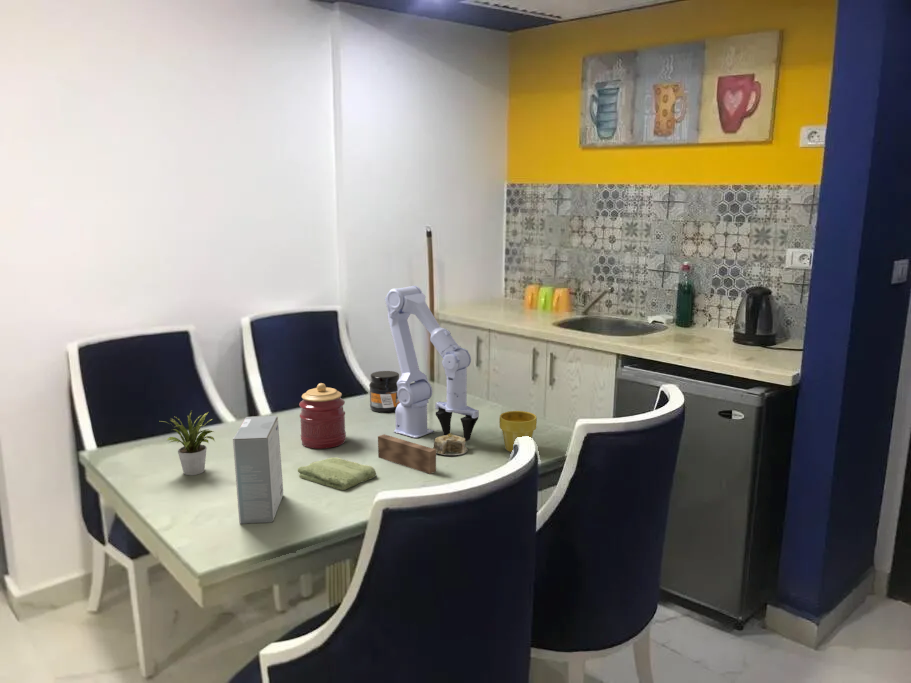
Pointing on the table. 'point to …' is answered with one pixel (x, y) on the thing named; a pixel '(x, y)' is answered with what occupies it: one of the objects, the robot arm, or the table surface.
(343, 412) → the canister
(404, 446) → the walnut board
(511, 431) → the plant pot
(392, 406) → the supplement container
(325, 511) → the table surface
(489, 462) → the table surface
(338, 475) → the washcloth
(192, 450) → the house plant
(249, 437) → the hard drive box
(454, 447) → the cake
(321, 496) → the table surface
